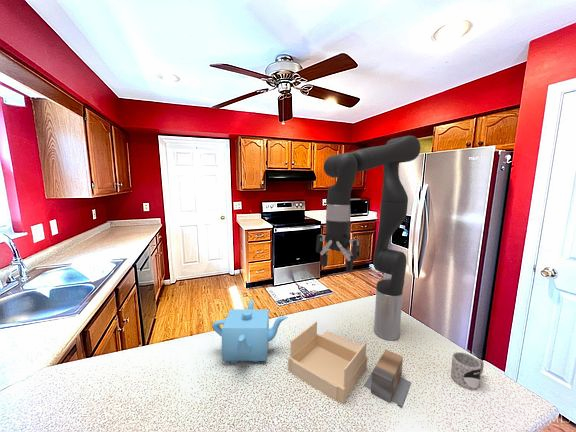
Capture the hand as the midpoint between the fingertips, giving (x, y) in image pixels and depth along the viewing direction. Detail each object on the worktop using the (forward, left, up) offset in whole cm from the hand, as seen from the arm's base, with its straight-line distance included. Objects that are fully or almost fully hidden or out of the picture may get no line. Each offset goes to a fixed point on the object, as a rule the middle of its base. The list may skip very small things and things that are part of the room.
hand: (336, 268), depth 77 cm
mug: (-17, +36, -30) cm, 50 cm away
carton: (+5, +2, -30) cm, 31 cm away
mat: (+1, +18, -30) cm, 35 cm away
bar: (+1, +18, -30) cm, 34 cm away
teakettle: (+17, -22, -30) cm, 41 cm away
